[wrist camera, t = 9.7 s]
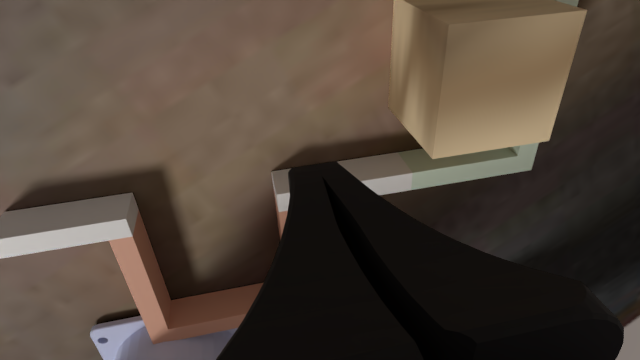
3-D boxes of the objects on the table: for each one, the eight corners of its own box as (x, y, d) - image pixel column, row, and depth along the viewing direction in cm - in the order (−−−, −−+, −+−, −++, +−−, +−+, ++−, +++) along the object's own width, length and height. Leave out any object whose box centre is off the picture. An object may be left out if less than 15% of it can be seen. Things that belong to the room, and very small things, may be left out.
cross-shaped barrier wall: (485, 251, 28) (502, 273, 26) (73, 331, 24) (63, 363, 22) (652, -455, 12) (721, -509, 11) (-439, -547, 8) (-594, -654, 7)
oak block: (483, 94, 21) (549, 141, 17) (387, 107, 20) (432, 159, 16) (503, -15, 18) (587, 10, 14) (393, -5, 18) (448, 24, 14)
